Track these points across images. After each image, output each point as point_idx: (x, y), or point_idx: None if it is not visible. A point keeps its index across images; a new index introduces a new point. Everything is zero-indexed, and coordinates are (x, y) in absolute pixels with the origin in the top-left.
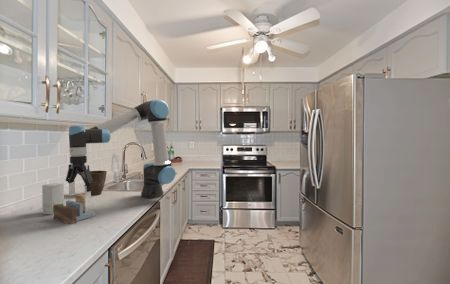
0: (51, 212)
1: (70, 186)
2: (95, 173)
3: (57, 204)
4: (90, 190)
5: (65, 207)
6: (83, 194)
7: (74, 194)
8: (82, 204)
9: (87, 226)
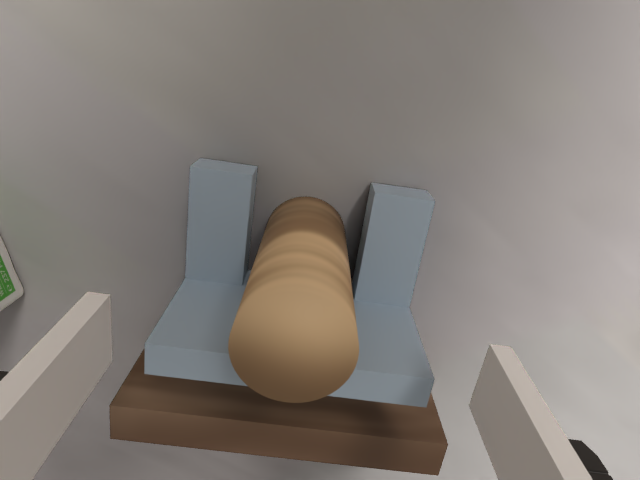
0: (9, 304)
1: (33, 463)
2: None
3: (120, 412)
4: (594, 461)
5: (309, 451)
6: (283, 293)
7: (110, 304)
8: (431, 375)
9: (556, 375)
